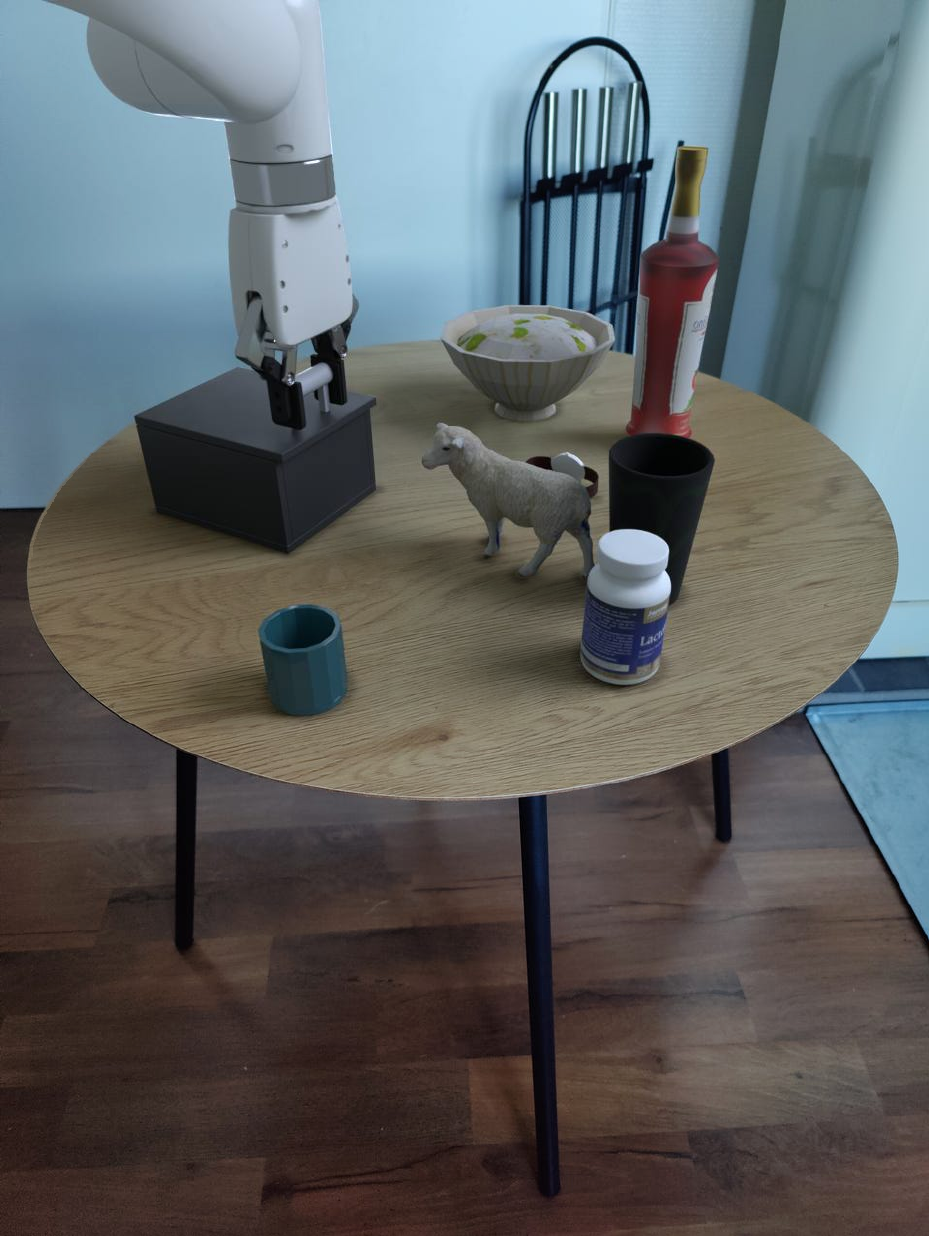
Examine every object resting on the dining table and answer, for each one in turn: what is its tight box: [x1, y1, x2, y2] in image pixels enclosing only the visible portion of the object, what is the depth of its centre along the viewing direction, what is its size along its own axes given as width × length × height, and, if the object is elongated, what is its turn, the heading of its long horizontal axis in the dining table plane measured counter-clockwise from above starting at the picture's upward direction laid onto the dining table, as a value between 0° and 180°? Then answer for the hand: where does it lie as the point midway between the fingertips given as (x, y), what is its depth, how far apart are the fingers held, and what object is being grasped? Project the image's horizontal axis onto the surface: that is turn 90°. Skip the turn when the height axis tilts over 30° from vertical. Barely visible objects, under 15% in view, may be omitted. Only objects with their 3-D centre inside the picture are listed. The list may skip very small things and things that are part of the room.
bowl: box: [439, 304, 616, 422], centre depth 101 cm, size 19×19×10 cm
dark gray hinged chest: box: [135, 409, 377, 555], centre depth 84 cm, size 16×14×9 cm
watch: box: [524, 451, 600, 499], centre depth 86 cm, size 8×5×4 cm, turn 57°
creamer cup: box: [257, 603, 349, 717], centre depth 62 cm, size 5×6×6 cm
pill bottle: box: [579, 529, 671, 686], centre depth 63 cm, size 6×6×10 cm
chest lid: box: [133, 363, 378, 463], centre depth 80 cm, size 16×14×5 cm
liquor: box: [624, 145, 721, 439], centre depth 88 cm, size 7×7×28 cm
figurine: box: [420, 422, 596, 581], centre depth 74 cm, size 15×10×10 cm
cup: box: [608, 433, 716, 607], centre depth 70 cm, size 8×8×12 cm
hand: (310, 411), depth 78 cm, fingers closed on chest lid, 5 cm apart
